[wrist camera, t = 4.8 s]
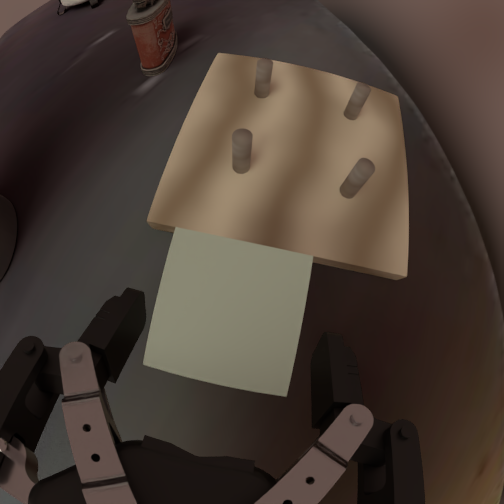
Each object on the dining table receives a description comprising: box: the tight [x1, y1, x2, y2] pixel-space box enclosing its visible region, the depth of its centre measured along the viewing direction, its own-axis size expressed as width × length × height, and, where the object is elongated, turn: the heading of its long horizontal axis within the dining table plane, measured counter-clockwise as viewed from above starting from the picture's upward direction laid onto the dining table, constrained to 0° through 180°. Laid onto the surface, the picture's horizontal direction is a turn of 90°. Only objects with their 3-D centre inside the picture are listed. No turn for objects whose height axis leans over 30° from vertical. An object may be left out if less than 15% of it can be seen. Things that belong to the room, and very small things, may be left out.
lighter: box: [126, 0, 178, 76], centre depth 20 cm, size 8×3×10 cm, turn 179°
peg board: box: [147, 53, 409, 280], centre depth 19 cm, size 18×18×5 cm
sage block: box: [143, 227, 313, 397], centre depth 13 cm, size 4×4×10 cm
